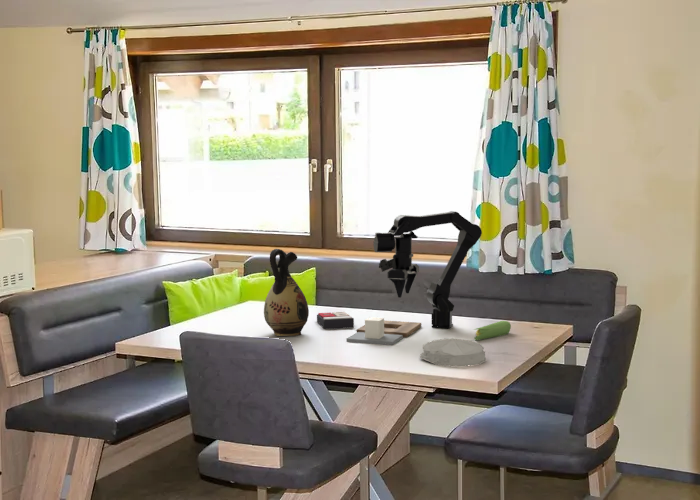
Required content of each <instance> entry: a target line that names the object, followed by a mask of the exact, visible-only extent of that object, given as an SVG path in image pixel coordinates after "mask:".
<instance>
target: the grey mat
mask: <svg viewBox="0 0 700 500" xmlns="http://www.w3.org/2000/svg"><path fill="white" fill-rule="evenodd" d="M403 338H404V337H403V335H394V334H384V336H383V337H381V338H380V339H374V338H365V332H357V331H356V332H355V333H354V334H352V335H350V336H348V337H347V338H346V342H348V343H360V344H361V343H362V344H374V345H375V344H376V345H387V346H394V345H395V344H396V343H397V342H399V341H400V340H402V339H403Z"/></svg>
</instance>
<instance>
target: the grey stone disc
mask: <svg viewBox="0 0 700 500" xmlns="http://www.w3.org/2000/svg"><path fill="white" fill-rule="evenodd" d="M422 350H423V352H422V353H420V355H419V358H420V359H421V360H425V361H427V362H429V363H431V364H434V365H435V364H436V365H437V364H441V365H440V366H447V365H450V366H449V367H451V366H454V367H456V366H465V367H472V366H471V365H474V366H479V365H482V364H483V363H486V362H487V358H486V350H485V347H484V346H483V345H482V344H481V343H480V342H477V341H475V340H469V339H461V338H453V337H452V338H440V339H434V340H430V341H428V342H426V343H424V344H423V345H422ZM478 364H479V365H478ZM468 365H470V366H468Z"/></svg>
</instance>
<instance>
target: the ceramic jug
mask: <svg viewBox="0 0 700 500" xmlns="http://www.w3.org/2000/svg"><path fill="white" fill-rule="evenodd" d="M277 256H278V257H279V259H278V262H277V261H276V260H277ZM297 259H298V256H297V254H296V253H295V252H292V251H290V252H287V253H286V251H284V250H282V249H280V248H274V249H272V250H271V251H270V253H269V264H270V267H271V270H272V274H273V276H274V282H273V284H272V285H271V287H270V289H269V291H268V292H267V296H266V297H265V300H264V305H263V306H264V307H263V316H264V320H265V323H266V324H267V326H269V328H271V330H272V331H273V334H274V335H275V336H277V337H296V336H300V335H302V330H303V329H304V326H305V325H306V324H307V322H308V318H309V314H310V313H309V312H310V311H309V305H308V301H307V299H306V298H307V297H306V295H305V294H304V293H303V291H302V289H301V288H300V285H298V283H297V282H296V280H295V279H294V278H293V277H292V275H291V273H290V270H289V267H290V266H291V264H293V263H294V262H295V261H297Z"/></svg>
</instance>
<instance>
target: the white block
mask: <svg viewBox="0 0 700 500" xmlns="http://www.w3.org/2000/svg"><path fill="white" fill-rule="evenodd" d="M384 320H385V317H370V316H369V317H368V318H366V319H364V325H365V338H374V339H380V338H381V337H383V336H384Z"/></svg>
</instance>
